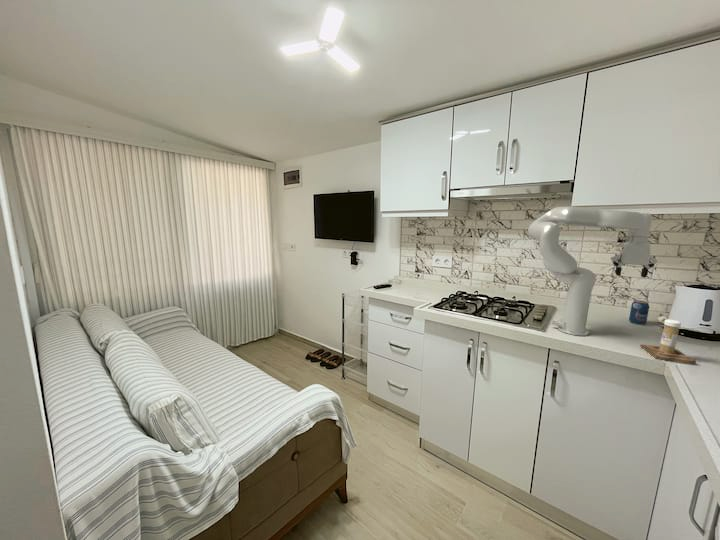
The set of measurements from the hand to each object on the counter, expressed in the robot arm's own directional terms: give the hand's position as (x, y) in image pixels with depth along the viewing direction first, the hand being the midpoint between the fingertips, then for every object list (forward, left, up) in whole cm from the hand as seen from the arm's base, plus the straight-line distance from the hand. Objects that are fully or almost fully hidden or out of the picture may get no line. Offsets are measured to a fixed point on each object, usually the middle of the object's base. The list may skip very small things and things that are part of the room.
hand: (630, 276), depth 143 cm
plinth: (+6, -25, -28) cm, 38 cm away
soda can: (+15, +21, -28) cm, 38 cm away
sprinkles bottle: (+6, -25, -27) cm, 37 cm away
